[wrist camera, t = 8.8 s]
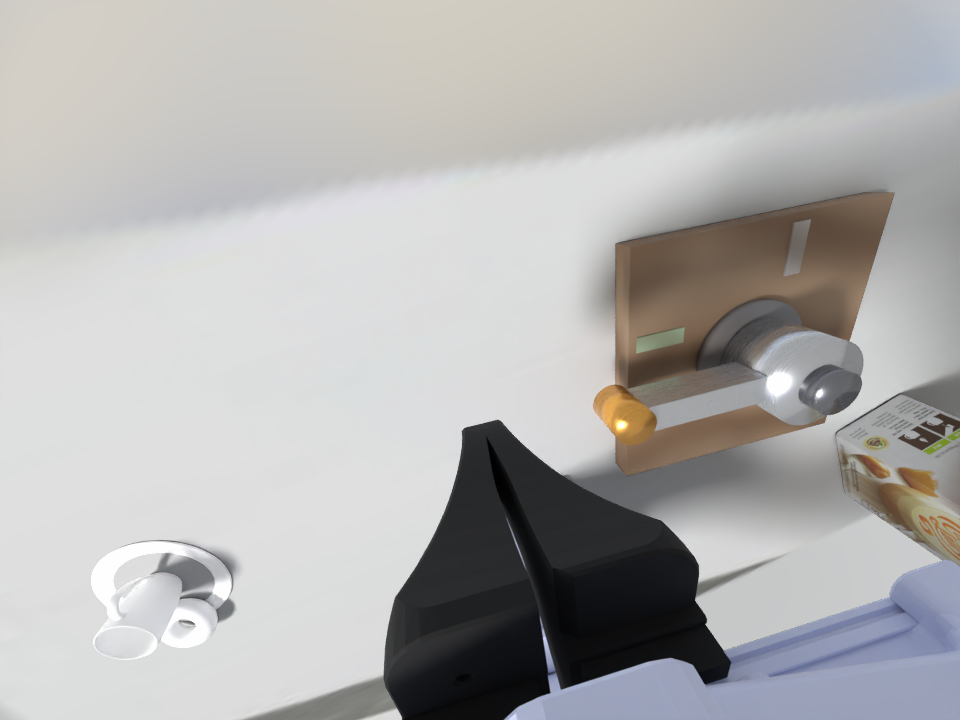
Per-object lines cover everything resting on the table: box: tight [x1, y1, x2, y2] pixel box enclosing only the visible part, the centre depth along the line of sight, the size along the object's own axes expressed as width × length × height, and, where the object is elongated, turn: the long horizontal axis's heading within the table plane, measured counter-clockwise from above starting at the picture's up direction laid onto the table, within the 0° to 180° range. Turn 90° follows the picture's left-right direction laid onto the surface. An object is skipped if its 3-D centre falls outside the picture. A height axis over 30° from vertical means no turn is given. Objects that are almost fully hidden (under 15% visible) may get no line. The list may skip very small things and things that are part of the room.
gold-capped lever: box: [593, 317, 863, 445], centre depth 20 cm, size 14×5×5 cm, turn 100°
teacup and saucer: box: [91, 541, 232, 659], centre depth 23 cm, size 9×8×4 cm
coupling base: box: [616, 192, 895, 476], centre depth 24 cm, size 16×16×2 cm
